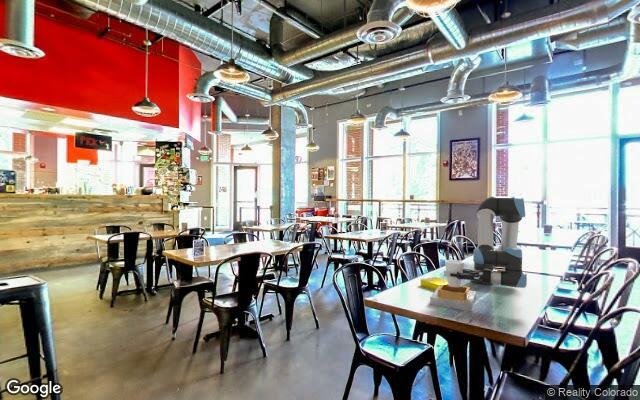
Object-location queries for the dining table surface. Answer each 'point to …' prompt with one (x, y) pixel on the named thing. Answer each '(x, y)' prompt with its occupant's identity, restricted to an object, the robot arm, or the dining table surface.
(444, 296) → the wooden box on base
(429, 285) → the element tile
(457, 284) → the foam cup
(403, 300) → the dining table surface
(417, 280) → the dining table surface
